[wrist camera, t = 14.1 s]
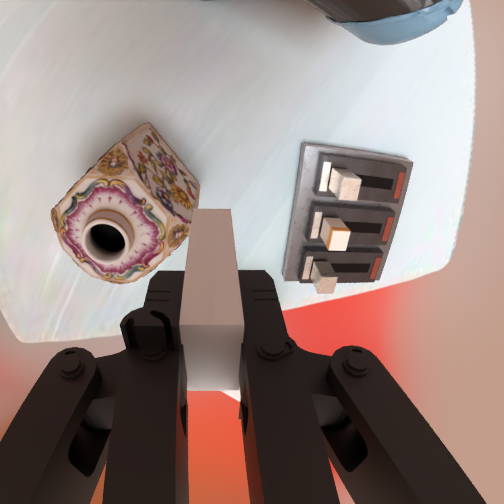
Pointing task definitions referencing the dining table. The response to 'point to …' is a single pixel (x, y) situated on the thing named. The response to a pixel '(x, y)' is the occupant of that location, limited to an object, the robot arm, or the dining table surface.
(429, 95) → the dining table surface
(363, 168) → the breaker panel
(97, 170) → the decorative jar
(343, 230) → the toggle
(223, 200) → the dining table surface
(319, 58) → the dining table surface
